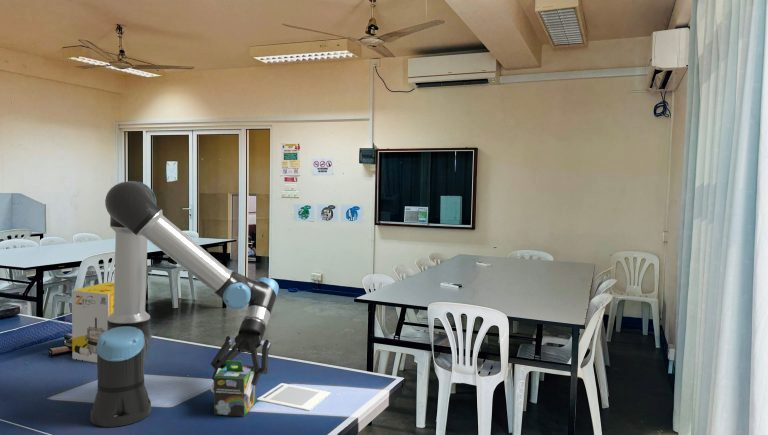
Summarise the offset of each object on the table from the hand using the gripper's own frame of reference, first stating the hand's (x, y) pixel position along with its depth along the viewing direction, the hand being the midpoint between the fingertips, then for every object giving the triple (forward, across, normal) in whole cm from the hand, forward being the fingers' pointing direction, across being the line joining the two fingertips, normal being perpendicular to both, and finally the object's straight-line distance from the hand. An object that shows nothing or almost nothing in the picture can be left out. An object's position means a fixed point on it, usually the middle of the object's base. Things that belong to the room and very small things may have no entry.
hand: (229, 393), depth 151 cm
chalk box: (+2, 0, -7) cm, 7 cm away
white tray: (-7, -14, -16) cm, 22 cm away
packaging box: (-20, +66, -28) cm, 74 cm away
